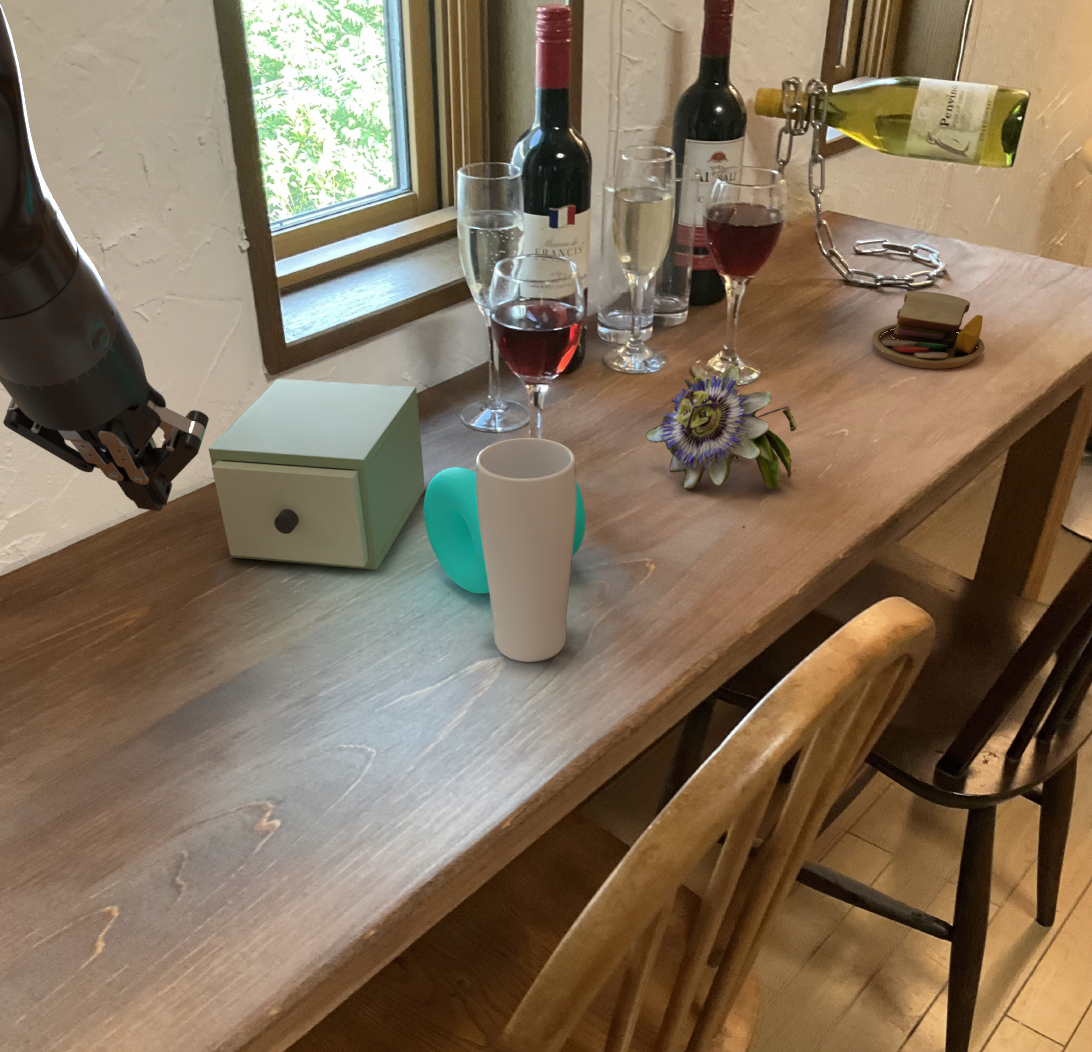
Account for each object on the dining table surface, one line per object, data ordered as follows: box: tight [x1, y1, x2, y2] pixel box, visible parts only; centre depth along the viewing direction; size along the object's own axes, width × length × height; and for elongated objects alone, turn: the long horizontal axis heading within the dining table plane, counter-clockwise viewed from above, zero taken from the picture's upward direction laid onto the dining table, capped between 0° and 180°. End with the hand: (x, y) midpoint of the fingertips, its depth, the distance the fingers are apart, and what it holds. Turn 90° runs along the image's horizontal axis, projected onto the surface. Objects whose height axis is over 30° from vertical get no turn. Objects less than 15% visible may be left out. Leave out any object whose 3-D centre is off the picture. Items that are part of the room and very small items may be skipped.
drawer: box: [211, 461, 369, 567], centre depth 95 cm, size 15×12×8 cm
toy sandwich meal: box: [871, 291, 986, 370], centre depth 129 cm, size 12×14×5 cm
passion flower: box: [644, 363, 798, 492], centre depth 104 cm, size 11×11×12 cm
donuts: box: [423, 466, 587, 595], centre depth 89 cm, size 10×10×10 cm
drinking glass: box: [475, 437, 577, 663], centre depth 79 cm, size 7×7×15 cm
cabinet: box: [208, 378, 426, 571], centre depth 97 cm, size 15×13×10 cm
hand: (154, 498), depth 77 cm, fingers closed
